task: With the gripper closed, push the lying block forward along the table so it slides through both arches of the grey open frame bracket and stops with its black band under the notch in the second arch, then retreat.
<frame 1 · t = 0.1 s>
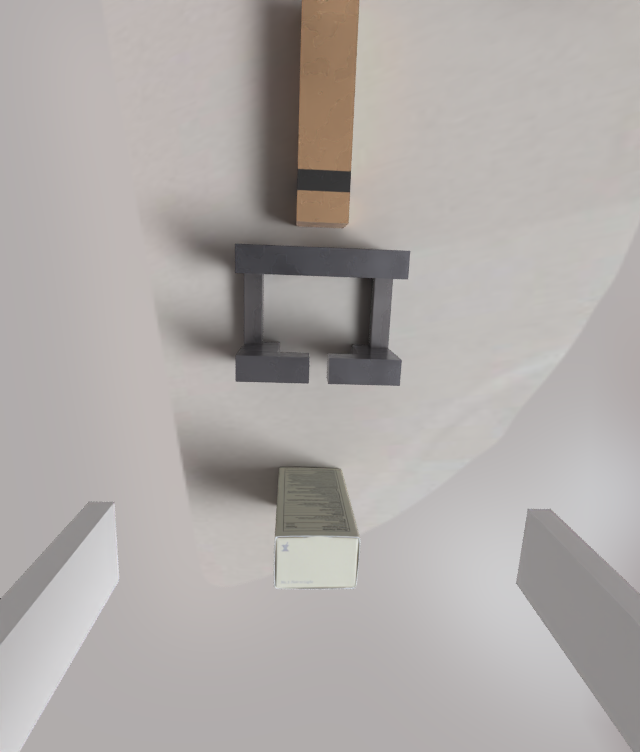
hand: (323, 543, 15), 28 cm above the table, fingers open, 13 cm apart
skincare box: (310, 485, 45), on the table
block: (323, 124, 37), on the table
grey open frame bracket: (317, 309, 41), on the table
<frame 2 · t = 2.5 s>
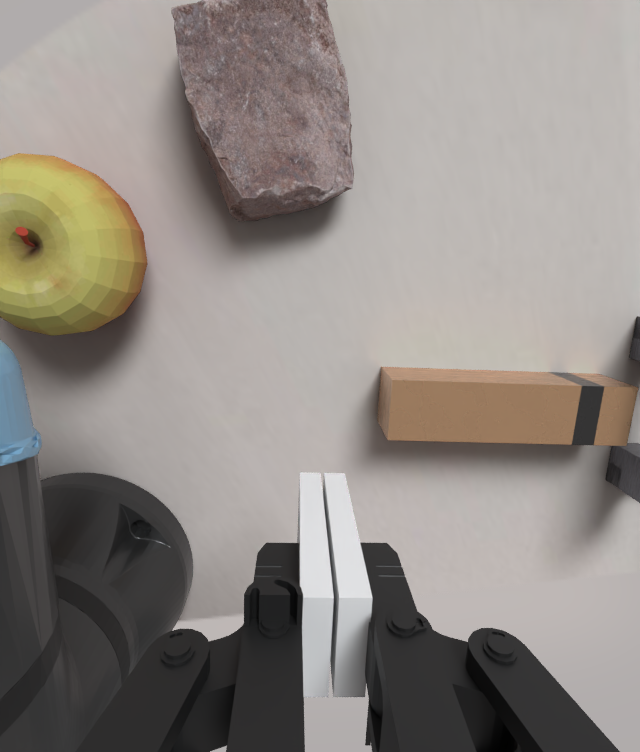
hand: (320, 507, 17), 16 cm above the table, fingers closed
stone: (273, 117, 29), on the table
block: (488, 397, 34), on the table
apple: (87, 252, 30), on the table
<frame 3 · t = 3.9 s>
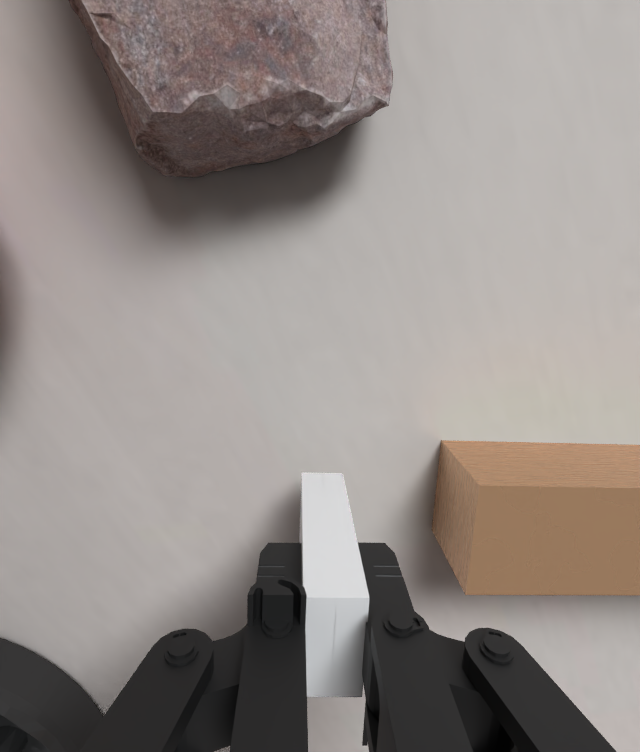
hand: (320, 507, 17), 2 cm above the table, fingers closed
block: (622, 489, 19), on the table
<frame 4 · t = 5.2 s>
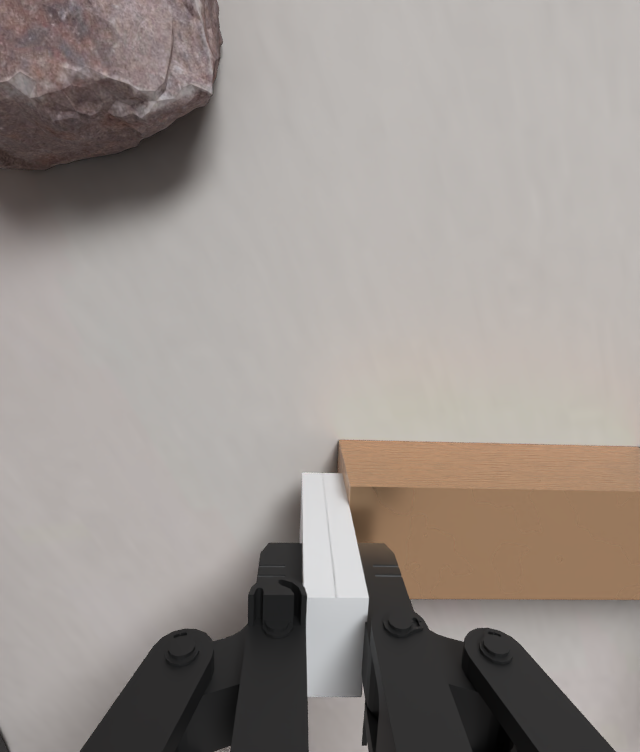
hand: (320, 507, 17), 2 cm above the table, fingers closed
block: (529, 490, 19), on the table, touching gripper
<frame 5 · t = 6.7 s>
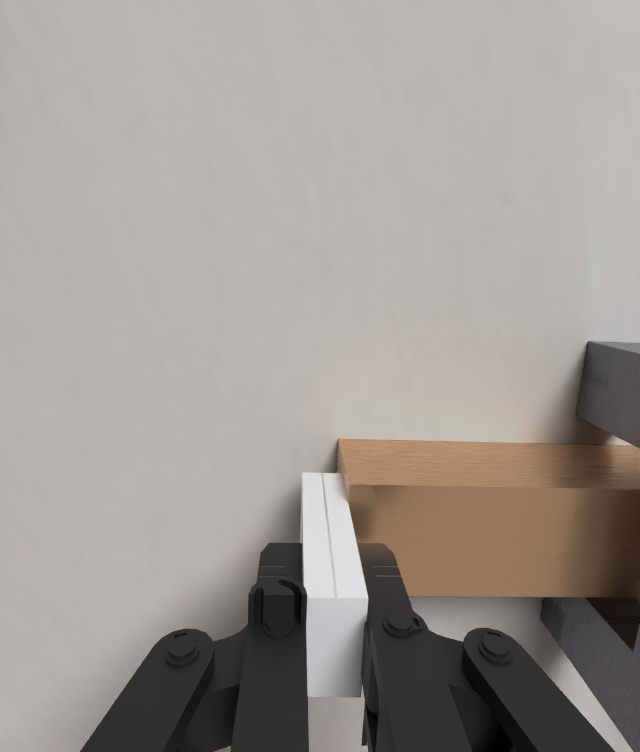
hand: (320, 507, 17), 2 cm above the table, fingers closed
block: (527, 488, 19), on the table, touching gripper
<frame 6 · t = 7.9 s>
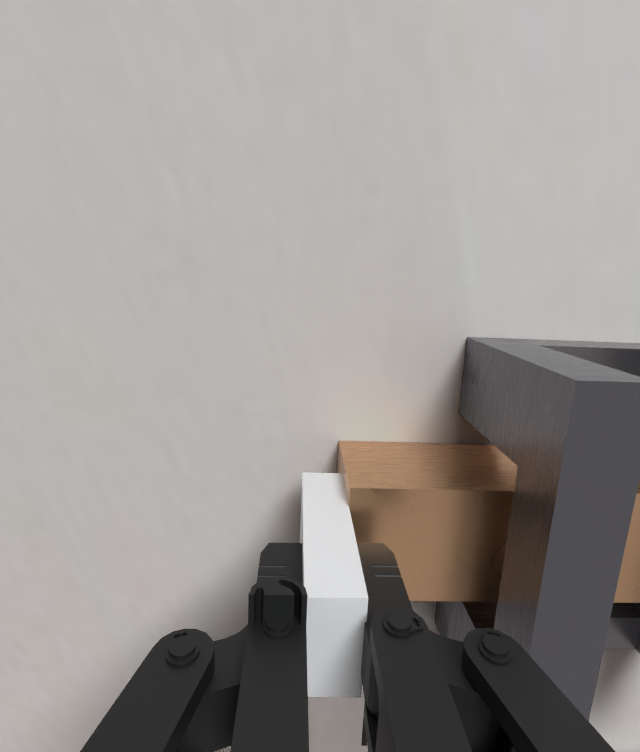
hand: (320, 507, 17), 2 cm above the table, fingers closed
block: (530, 491, 19), on the table, touching gripper
grey open frame bracket: (569, 492, 19), on the table
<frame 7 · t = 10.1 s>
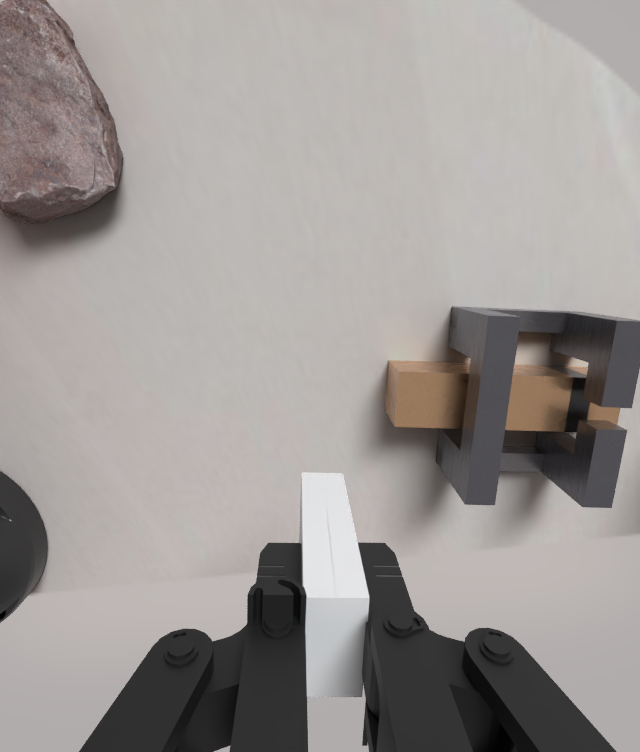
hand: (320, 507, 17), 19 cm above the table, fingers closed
stone: (51, 125, 31), on the table
block: (487, 388, 36), on the table
grey open frame bracket: (506, 389, 36), on the table
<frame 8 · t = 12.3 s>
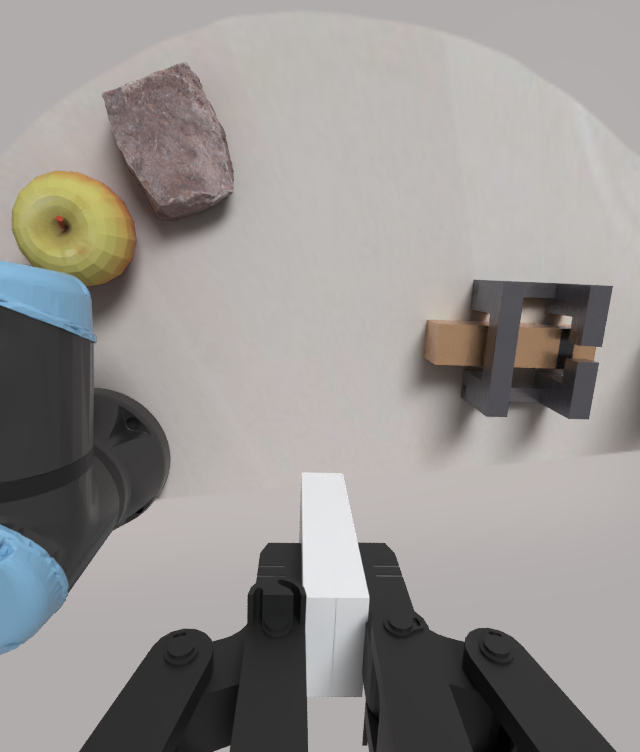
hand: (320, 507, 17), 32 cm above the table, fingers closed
stone: (181, 149, 44), on the table
block: (499, 341, 49), on the table
apple: (96, 234, 45), on the table
grey open frame bracket: (513, 341, 49), on the table
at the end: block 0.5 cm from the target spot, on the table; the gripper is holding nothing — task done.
